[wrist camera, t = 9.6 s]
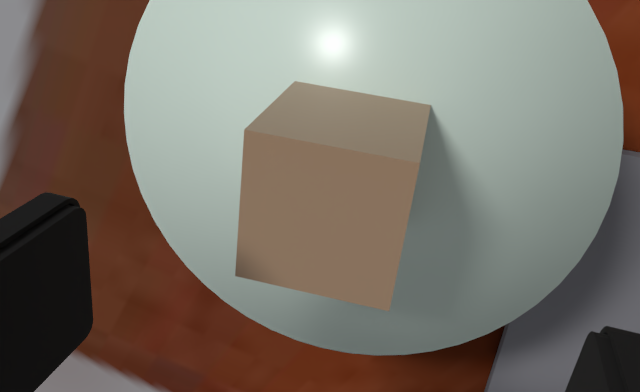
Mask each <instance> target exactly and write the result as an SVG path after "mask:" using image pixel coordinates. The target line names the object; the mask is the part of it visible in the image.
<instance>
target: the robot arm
mask: <svg viewBox="0 0 640 392" xmlns="http://www.w3.org/2000/svg"><path fill="white" fill-rule="evenodd" d="M92 324H93V311H92V296H91V281H90V266H89V251H88V236H87V222H86V213H85V211H84V209H82V208H80V205H79V203H78V201H77V200H75V199H74V198H70V197H65V196H61V195H57V194H53V193H46V192H45V193H43V194H40V195H39V196H37V197H36V198H34V199H32V200H31V201H29V202H27V203H26V204H24V205H22V206H21V207H19V208H17V209H16V210H14V211H12V212H11V213H9V214H7V215H6V216H4V217H3V218H1V219H0V392H34V391H35V390H36V389H37V388H38V387H39V386H40V385H41V384H42V383H43V382H44V381H45V380H46V379H47V378H48V377H49V375H50V374H51V373H52V372H53V371H54V370H55V369H56V368H57V367H58V366H59V365H60V364H61V363H62V362H63V361H64V360H65V359H66V358H67V357H68V356H69V355H70V354H71V353H72V352H73V351H74V350H75V349H76V348H77V347H78V346H79V345H80V344H81V343H82V342H83V340H84V339H85V338H86V337H87V336H88V334H89V332H90V330H91V328H92ZM565 392H640V334H639V333H635V332H631V331H627V330H622V329H618V328H614V327H610V326H605V327H603V329H602V330H601V331H600V333H597V332H593V331H591V332H590V333H589V334H588V335H587V337H586V340H585V342H584V345H583V347H582V350H581V352H580V355H579V357H578V360H577V362H576V365H575V367H574V370H573V372H572V375H571V377H570V380H569V382H568V385H567V387H566V390H565Z"/></svg>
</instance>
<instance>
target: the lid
mask: <svg viewBox="0 0 640 392" xmlns="http://www.w3.org/2000/svg"><path fill="white" fill-rule="evenodd" d="M124 117H125V128H126V138H127V144H128V149H129V153H130V158H131V163H132V167H133V171H134V174H135V176H136V179H137V182H138V185H139V188H140V191H141V194H142V196H143V198H144V200H145V202H146V204H147V207H148V209H149V211H150V213H151V215H152V217H153V219H154V221H155V223H156V224H157V226H158V227H159V229H160V231H161V232H162V234H163V235H164V237H165V239H166V240H167V242H168V243H169V245H170V246H171V247H172V248H173V250H174V251H175V252H176V254H177V255H178V256H179V257H180V259H181V260H182V261H183V262H184V264H185V265H186V266H187V267H188V268H189V269H190V270H191V271H192V272H193V273H194V274H195V275H196V276H197V277H198V278H199V279H200V280H201V281H202V282H203V283H204V285H206V286H207V287H208V288H209V289H210V290H212V291H213V292H214V293H215V294H216V295H218V296H219V297H220V298H221V299H222V300H224V301H225V302H226V303H228V304H229V305H231V306H232V307H234V308H235V309H237V310H238V311H239V312H241V313H242V314H244V315H245V316H247V317H249V318H250V319H252V320H254V321H256V322H258V323H260V324H262V325H263V326H265V327H267V328H269V329H271V330H273V331H275V332H278V333H280V334H283V335H285V336H288V337H290V338H293V339H295V340H298V341H301V342H304V343H308V344H311V345H314V346H318V347H321V348H325V349H331V350H336V351H341V352H346V353H354V354H366V355H407V354H415V353H422V352H430V351H435V350H439V349H443V348H447V347H451V346H455V345H460V344H462V343H465V342H468V341H470V340H473V339H476V338H478V337H481V336H484V335H486V334H489V333H490V332H492V331H494V330H496V329H498V328H500V327H502V326H504V325H506V324H508V323H510V322H512V321H513V320H515V319H516V318H518V317H519V316H521V315H522V314H524V313H525V312H527V311H528V310H530V309H531V308H532V307H534V306H535V305H537V304H538V303H539V302H540V301H541V300H542V299H544V298H545V297H546V296H547V295H548V294H549V293H550V292H551V291H553V290H554V289H555V288H556V287H557V286H558V285H559V284H560V283H561V282H562V281H563V280H564V278H565V277H566V276H567V275H568V274H569V273H570V271H571V270H572V269H573V268H574V267H575V266H576V264H577V263H578V262H579V261H580V259H581V258H582V256H583V255H584V253H585V252H586V250H587V248H588V247H589V245H590V244H591V242H592V241H593V239H594V238H595V236H596V234H597V232H598V230H599V228H600V226H601V223H602V221H603V219H604V217H605V215H606V212H607V210H608V208H609V206H610V202H611V199H612V196H613V192H614V189H615V186H616V182H617V179H618V175H619V169H620V162H621V155H622V147H623V104H622V98H621V92H620V86H619V80H618V74H617V69H616V66H615V63H614V60H613V57H612V54H611V51H610V48H609V45H608V42H607V39H606V36H605V34H604V32H603V30H602V28H601V26H600V24H599V22H598V20H597V18H596V16H595V14H594V12H593V10H592V8H591V6H590V4H589V2H588V1H587V0H150V1H149V3H148V5H147V8H146V10H145V12H144V14H143V16H142V18H141V20H140V23H139V25H138V28H137V31H136V35H135V38H134V41H133V45H132V48H131V51H130V55H129V61H128V67H127V74H126V80H125V97H124Z"/></svg>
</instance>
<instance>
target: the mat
mask: <svg viewBox="0 0 640 392" xmlns="http://www.w3.org/2000/svg"><path fill="white" fill-rule="evenodd" d="M605 326H610V327H614V328H618V329H622V330H627V331H631V332H635V333H639V334H640V152H634V151H628V150H623V149H622V155H621V162H620V169H619V175H618V179H617V182H616V186H615V189H614V192H613V196H612V199H611V202H610V206H609V208H608V210H607V212H606V215H605V217H604V219H603V221H602V223H601V226H600V228H599V230H598V232H597V234H596V236H595V238H594V239H593V241H592V242H591V244H590V245H589V247H588V248H587V250H586V252H585V253H584V255H583V256H582V258H581V259H580V261H579V262H578V263H577V264H576V266H575V267H574V268H573V269H572V270H571V271H570V273H569V274H568V275H567V276H566V277H565V278H564V280H563V281H562V282H561V283H560V284H559V285H558V286H557V287H556V288H555V289H554V290H553V291H551V292H550V293H549V294H548V295H547V296H546V297H545V298H544V299H542V300H541V301H540V302H539V303H538V304H537V305H535V306H534V307H532V308H531V309H530V310H528V311H527V312H525V313H524V314H522V315H521V316H519V317H518V318H516V319H515V320H513V321H512V322H510V323H508V324H506V325H505V328H504V331H503V334H502V337H501V341H500V344H499V347H498V350H497V353H496V356H495V359H494V362H493V366H492V369H491V372H490V375H489V378H488V381H487V384H486V388H485V391H484V392H565V390H566V387H567V385H568V382H569V380H570V377H571V375H572V372H573V370H574V367H575V365H576V362H577V360H578V357H579V355H580V352H581V350H582V347H583V345H584V342H585V340H586V337H587V335H588V334H589V333H590V332H591V331H593V332H597V333H600V331H601V330H602V329H603V327H605Z"/></svg>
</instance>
